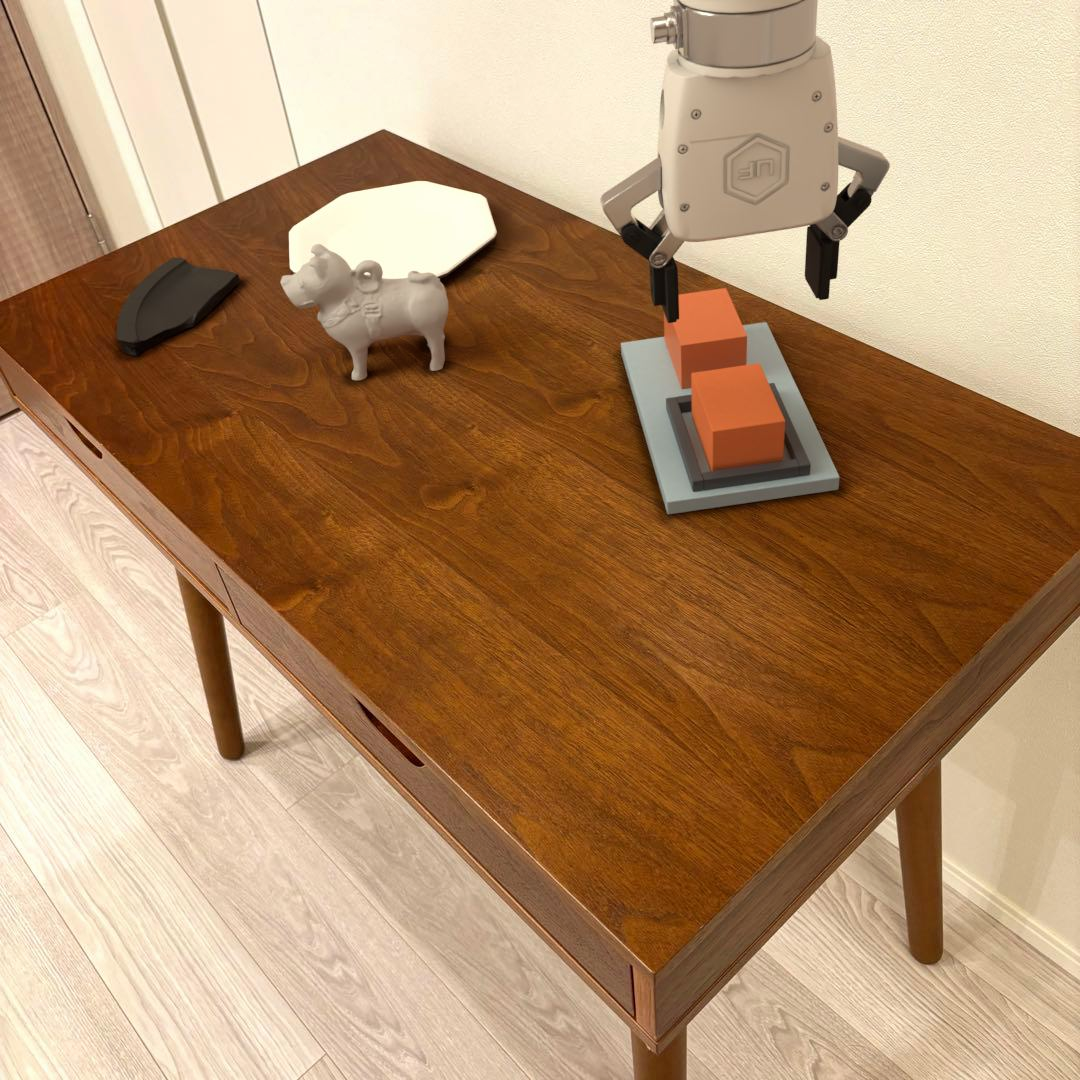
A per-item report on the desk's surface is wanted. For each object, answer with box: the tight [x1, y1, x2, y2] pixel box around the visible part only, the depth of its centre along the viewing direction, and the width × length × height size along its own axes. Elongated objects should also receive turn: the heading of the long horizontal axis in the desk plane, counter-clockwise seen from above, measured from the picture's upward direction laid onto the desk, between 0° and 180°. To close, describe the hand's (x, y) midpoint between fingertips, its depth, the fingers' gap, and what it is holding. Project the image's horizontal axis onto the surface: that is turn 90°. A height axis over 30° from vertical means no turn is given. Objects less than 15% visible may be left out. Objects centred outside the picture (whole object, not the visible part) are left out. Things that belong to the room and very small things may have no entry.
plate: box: [288, 180, 498, 280], centre depth 110 cm, size 20×20×2 cm
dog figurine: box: [280, 244, 449, 381], centre depth 93 cm, size 5×13×11 cm, turn 96°
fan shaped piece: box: [116, 257, 241, 357], centre depth 105 cm, size 8×14×2 cm, turn 156°
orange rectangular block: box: [691, 363, 785, 471], centre depth 81 cm, size 5×7×4 cm
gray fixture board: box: [620, 287, 841, 515], centre depth 85 cm, size 12×20×5 cm, turn 6°
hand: (742, 300), depth 74 cm, fingers open, 9 cm apart
